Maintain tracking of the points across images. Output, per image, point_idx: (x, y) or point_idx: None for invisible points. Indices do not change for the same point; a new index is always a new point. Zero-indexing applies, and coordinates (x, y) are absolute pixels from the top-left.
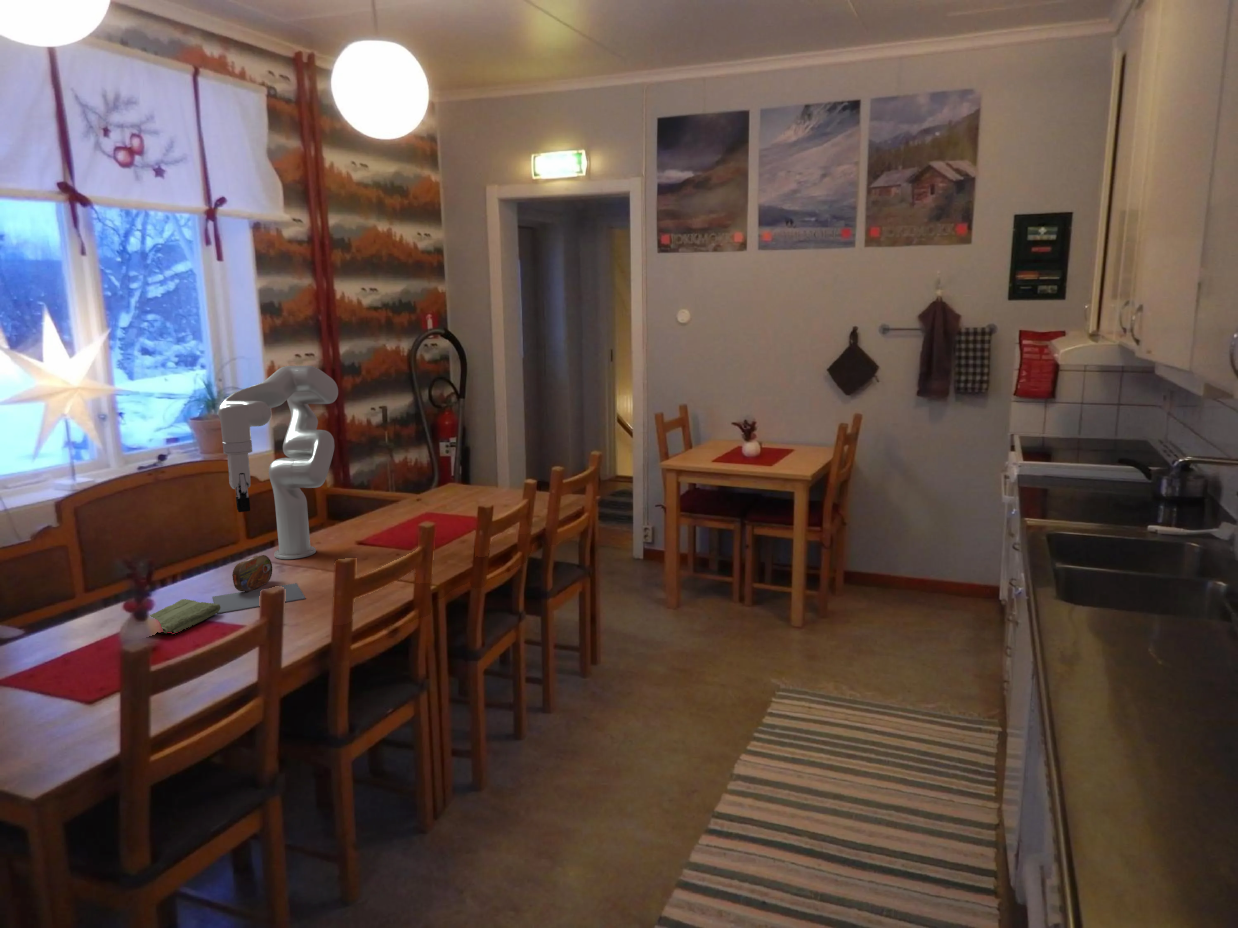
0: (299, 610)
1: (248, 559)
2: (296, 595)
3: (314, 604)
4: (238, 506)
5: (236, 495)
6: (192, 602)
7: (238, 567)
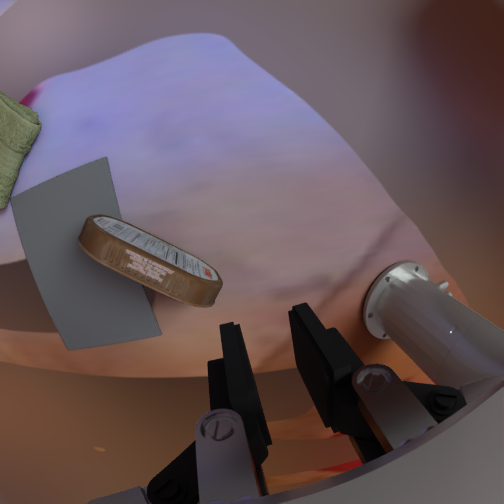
0: (21, 337)
1: (149, 263)
2: (81, 336)
3: (45, 358)
4: (225, 352)
5: (375, 367)
6: (5, 150)
7: (87, 240)
